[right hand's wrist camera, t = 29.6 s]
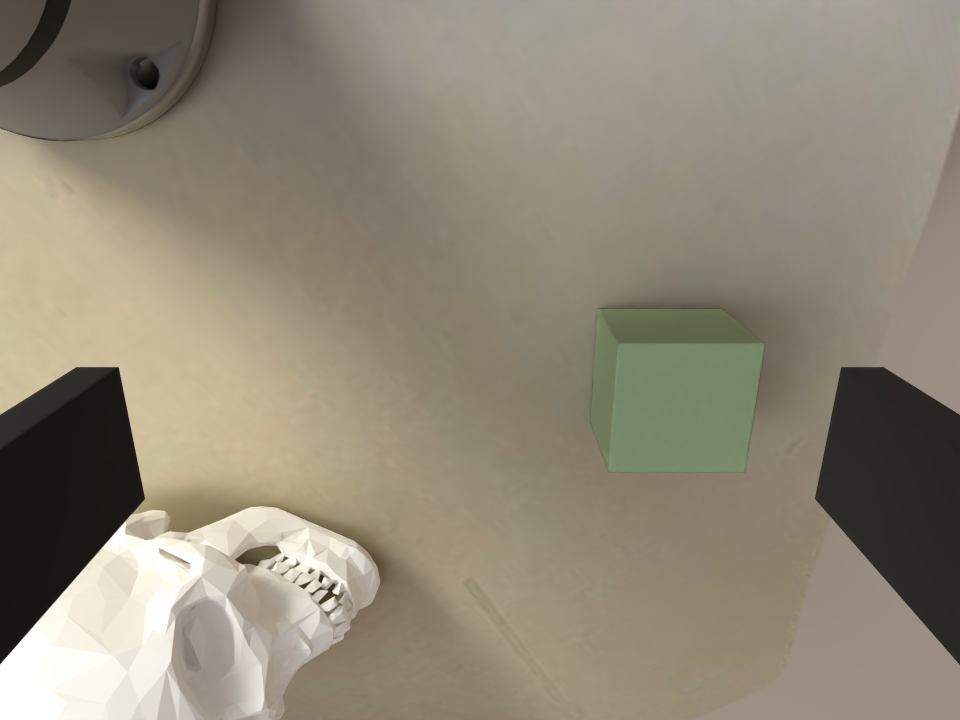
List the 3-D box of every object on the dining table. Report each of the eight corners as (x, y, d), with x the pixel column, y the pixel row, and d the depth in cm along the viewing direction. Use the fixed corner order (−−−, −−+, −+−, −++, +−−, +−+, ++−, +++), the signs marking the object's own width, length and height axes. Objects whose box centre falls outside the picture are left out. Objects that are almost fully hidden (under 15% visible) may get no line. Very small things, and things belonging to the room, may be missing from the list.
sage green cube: (589, 422, 40) (608, 473, 34) (596, 308, 37) (617, 343, 31) (707, 422, 40) (745, 473, 34) (722, 308, 37) (766, 343, 31)
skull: (405, 629, 44) (365, 880, 29) (93, 674, 46) (-98, 935, 31) (359, 451, 40) (285, 636, 25) (18, 506, 42) (-245, 713, 27)
